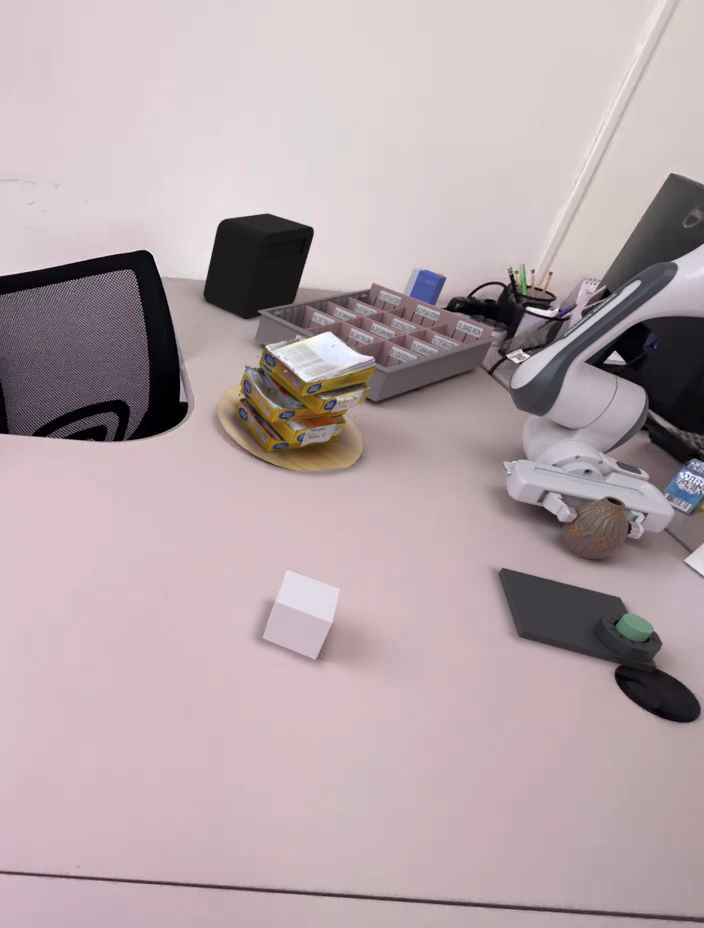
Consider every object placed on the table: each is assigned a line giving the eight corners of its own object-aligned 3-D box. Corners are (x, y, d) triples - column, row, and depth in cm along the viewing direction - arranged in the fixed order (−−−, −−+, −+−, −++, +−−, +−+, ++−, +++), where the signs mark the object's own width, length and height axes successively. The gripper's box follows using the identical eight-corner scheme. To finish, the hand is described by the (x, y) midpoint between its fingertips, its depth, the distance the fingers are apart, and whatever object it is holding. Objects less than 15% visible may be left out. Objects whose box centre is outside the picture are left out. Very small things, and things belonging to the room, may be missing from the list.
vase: (583, 569, 92) (619, 519, 87) (542, 537, 98) (573, 488, 93) (620, 563, 94) (657, 514, 89) (578, 532, 99) (611, 484, 94)
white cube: (323, 626, 79) (340, 588, 75) (315, 660, 74) (332, 623, 71) (272, 606, 81) (286, 569, 77) (261, 639, 76) (276, 601, 73)
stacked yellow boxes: (390, 469, 109) (431, 376, 100) (250, 476, 104) (280, 378, 94) (314, 397, 129) (343, 314, 119) (193, 399, 123) (213, 312, 114)
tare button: (639, 628, 80) (648, 617, 79) (649, 646, 77) (658, 635, 76) (611, 620, 80) (619, 610, 79) (620, 638, 78) (628, 628, 77)
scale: (619, 604, 87) (632, 588, 85) (655, 674, 77) (671, 657, 75) (497, 574, 90) (508, 557, 88) (518, 637, 80) (530, 620, 78)
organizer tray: (248, 345, 147) (259, 301, 141) (358, 319, 167) (372, 280, 161) (373, 411, 126) (393, 362, 121) (483, 372, 146) (504, 329, 141)
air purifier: (248, 289, 179) (267, 210, 168) (293, 307, 170) (317, 225, 159) (197, 300, 168) (214, 217, 157) (242, 320, 159) (264, 234, 148)
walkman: (428, 323, 170) (447, 275, 163) (420, 324, 169) (440, 276, 162) (402, 311, 175) (420, 265, 168) (395, 312, 174) (413, 266, 167)
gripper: (508, 441, 104) (530, 489, 93) (658, 473, 99) (700, 527, 88) (490, 475, 107) (509, 524, 96) (634, 507, 103) (671, 563, 92)
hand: (602, 526), depth 92 cm, fingers closed on vase, 7 cm apart
